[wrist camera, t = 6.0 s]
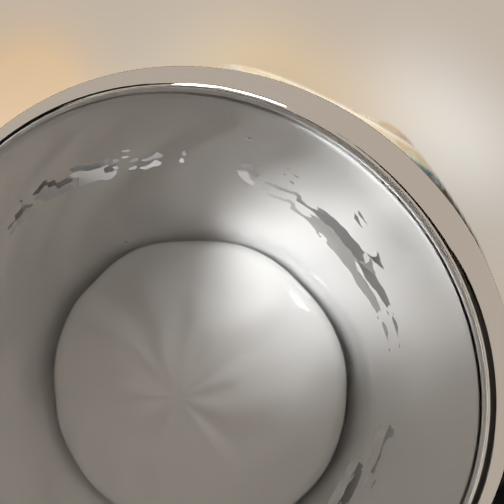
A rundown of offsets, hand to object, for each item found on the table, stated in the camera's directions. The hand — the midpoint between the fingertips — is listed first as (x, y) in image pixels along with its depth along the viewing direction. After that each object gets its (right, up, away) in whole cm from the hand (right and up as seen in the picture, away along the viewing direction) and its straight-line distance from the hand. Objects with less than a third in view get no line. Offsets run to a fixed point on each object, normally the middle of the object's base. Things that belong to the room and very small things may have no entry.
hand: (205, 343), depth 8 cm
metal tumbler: (0, -4, +7) cm, 8 cm away
